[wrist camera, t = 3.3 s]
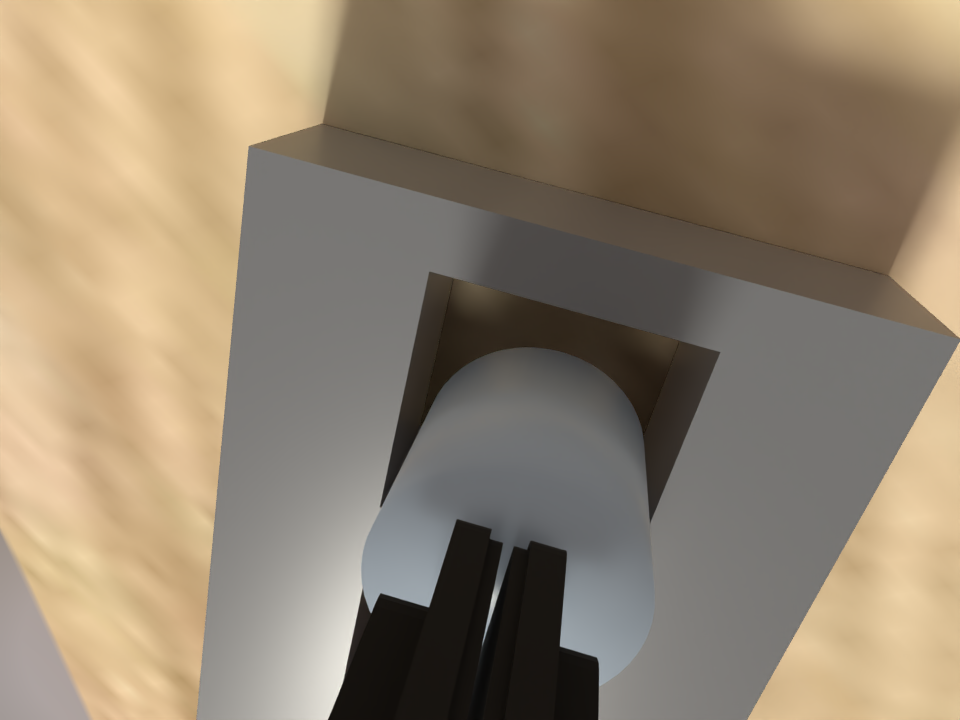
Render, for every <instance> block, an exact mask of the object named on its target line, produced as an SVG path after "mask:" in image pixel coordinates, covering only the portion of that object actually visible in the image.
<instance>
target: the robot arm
mask: <svg viewBox="0 0 960 720" xmlns="http://www.w3.org/2000/svg"><path fill="white" fill-rule="evenodd" d="M491 531H492V529H490V528H487V527H483V526H480V525H476V524H473V523H469V522H466V521H463V520H459V519H457V520H456V523H455V526H454V529H453V532H452V535H451V539H450V542H449V545H448V548H447V551H446V555H445V558H444V561H443V564H442V567H441V571H440V574H439V577H438V580H437V583H436V587H435V590H434V593H433V596H432V599H431V603H430V606H429V607H426V606H422V605H419V604H416V603H412V602H409V601H406V600H402V599H399V598H395V597H392V596H389V595H385V594H382V593H380V595H379V597H378V599H377V601H376V603H375V605H374V608H373V610H372V613H371V615H370V618H369V620H368V623H367V625H366V627H365V630H364V632H363V635H362V637H361V640H360V642H359V645H358V647H357V650H356V652H355V654H354V657H353V659H352V662H351V664H350V667H349V669H348V672H347V674H346V676H345V679H344V681H343V684H342V686H341V689H340V691H339V694H338V696H337V699H336V701H335V703H334V706H333V708H332V711H331V713H330V716H329V718H328V720H598V715H599V662H598V659H597V657H594V656H591V655H587V654H584V653H580V652H577V651H574V650H570V649H567V648H564V647H560V637H561V625H562V612H563V600H564V588H565V575H566V563H567V551H566V550H562V549H559V548H555V547H552V546H549V545H545V544H542V543H538V542H535V541H530V543H529V545H528V548H527V550H526V549H523V548H519V547H516V546H514V548H513V551H512V554H511V557H510V560H509V563H508V566H507V569H506V572H505V576H504V579H503V582H502V585H501V588H500V591H499V595H498V598H497V601H496V604H495V607H494V610H493V614H492V617H491V620H490V623H489V626H488V629H487V632H486V636H485V639H484V634H485V629H486V624H487V619H488V615H489V610H490V605H491V600H492V595H493V590H494V586H495V581H496V576H497V571H498V566H499V562H500V557H501V552H502V547H503V543H502V542H499V541H495V540H492V539H490V535H491ZM483 639H484V642H483ZM482 644H483V645H482Z"/></svg>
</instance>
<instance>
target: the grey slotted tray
mask: <svg viewBox="0 0 960 720" xmlns="http://www.w3.org/2000/svg"><path fill="white" fill-rule="evenodd" d="M453 278H455V279H459V280H462V281H466V282H470V283H473V284H477V285H480V286H484V287H488V288H491V289H495V290H498V291H502V292H506V293H509V294H513V295H516V296H520V297H524V298H527V299H531V300H534V301H538V302H542V303H545V304H549V305H552V306H556V307H560V308H563V309H567V310H570V311H574V312H578V313H581V314H585V315H588V316H592V317H596V318H599V319H603V320H606V321H610V322H614V323H617V324H621V325H624V326H628V327H632V328H635V329H639V330H643V331H646V332H650V333H653V334H657V335H661V336H664V337H668V338H671V339H675V340H679V341H680V342H679V345H678V347H677V350H676V352H675V355H674V358H673V360H672V363H671V366H670V368H669V371H668V373H667V376H666V379H665V381H664V384H663V387H662V389H661V392H660V394H659V397H658V400H657V402H656V405H655V408H654V410H653V413H652V415H651V418H650V421H649V423H648V426H647V428H646V431H645V434H644V436H643V439H644V448H645V462H646V476H647V490H648V505H649V519H650V533H651V547H652V561H653V575H654V589H655V609H654V615H653V621H652V625H651V628H650V631H649V634H648V636H647V639H646V640H645V642H644V644H643V646H642V648H641V649H640V651H639V652H638V654H637V655H636V656H635V658H634V659H633V660H632V661H631V663H630V664H629V665H628V666H626V667H625V668H624V669H623V670H622V671H621V672H620V673H619V674H618V675H616V676H615V677H613V678H612V679H611V680H609V681H608V682H606V683H605V684H603V685H601V686H599V715H598V720H747V719H748V717H749V715H750V713H751V712H752V710H753V708H754V706H755V705H756V703H757V701H758V699H759V697H760V696H761V694H762V692H763V690H764V689H765V687H766V685H767V683H768V681H769V680H770V678H771V676H772V674H773V673H774V671H775V669H776V667H777V665H778V664H779V662H780V660H781V658H782V657H783V655H784V653H785V651H786V649H787V648H788V646H789V644H790V642H791V641H792V639H793V637H794V635H795V633H796V632H797V630H798V628H799V626H800V625H801V623H802V621H803V619H804V617H805V616H806V614H807V612H808V610H809V609H810V607H811V605H812V603H813V601H814V600H815V598H816V596H817V594H818V593H819V591H820V589H821V587H822V585H823V584H824V582H825V580H826V578H827V577H828V575H829V573H830V571H831V569H832V568H833V566H834V564H835V562H836V561H837V559H838V557H839V555H840V553H841V552H842V550H843V548H844V546H845V545H846V543H847V541H848V539H849V537H850V536H851V534H852V532H853V530H854V529H855V527H856V525H857V523H858V521H859V520H860V518H861V516H862V514H863V513H864V511H865V509H866V507H867V505H868V504H869V502H870V500H871V498H872V497H873V495H874V493H875V491H876V489H877V488H878V486H879V484H880V482H881V481H882V479H883V477H884V475H885V473H886V472H887V470H888V468H889V466H890V465H891V463H892V461H893V459H894V457H895V456H896V454H897V452H898V450H899V449H900V447H901V445H902V443H903V441H904V440H905V438H906V436H907V434H908V432H909V431H910V429H911V427H912V425H913V424H914V422H915V420H916V418H917V416H918V415H919V413H920V411H921V409H922V408H923V406H924V404H925V402H926V400H927V399H928V397H929V395H930V393H931V392H932V390H933V388H934V386H935V384H936V383H937V381H938V379H939V377H940V376H941V374H942V372H943V370H944V368H945V367H946V365H947V363H948V361H949V360H950V358H951V356H952V354H953V352H954V351H955V349H956V347H957V345H958V344H959V342H960V338H959V337H957V336H956V335H955V334H954V333H953V332H952V331H951V330H950V329H948V328H947V327H946V326H945V325H944V324H943V323H942V322H940V321H939V320H938V319H937V318H936V317H935V316H934V315H933V314H931V313H930V312H929V311H928V310H927V309H926V308H925V307H923V306H922V305H921V304H920V303H919V302H918V301H917V300H916V299H914V298H913V297H912V296H911V295H910V294H909V293H908V292H906V291H905V290H904V289H903V288H902V287H901V286H900V285H898V284H897V283H896V282H895V281H894V280H893V279H892V278H891V277H889V276H887V275H883V274H879V273H876V272H872V271H868V270H865V269H861V268H857V267H853V266H850V265H846V264H842V263H838V262H835V261H831V260H827V259H824V258H820V257H816V256H812V255H809V254H805V253H801V252H797V251H794V250H790V249H786V248H783V247H779V246H775V245H771V244H768V243H764V242H760V241H756V240H753V239H749V238H745V237H742V236H738V235H734V234H730V233H727V232H723V231H719V230H715V229H712V228H708V227H704V226H700V225H697V224H693V223H689V222H686V221H682V220H678V219H674V218H671V217H667V216H663V215H659V214H656V213H652V212H648V211H645V210H641V209H637V208H633V207H630V206H626V205H622V204H618V203H615V202H611V201H607V200H604V199H600V198H596V197H592V196H589V195H585V194H581V193H577V192H574V191H570V190H566V189H563V188H559V187H555V186H551V185H548V184H544V183H540V182H536V181H533V180H529V179H525V178H522V177H518V176H514V175H510V174H507V173H503V172H499V171H495V170H492V169H488V168H484V167H481V166H477V165H473V164H469V163H466V162H462V161H458V160H454V159H451V158H447V157H443V156H440V155H436V154H432V153H428V152H425V151H421V150H417V149H413V148H410V147H406V146H402V145H399V144H395V143H391V142H387V141H384V140H380V139H376V138H372V137H369V136H365V135H361V134H358V133H354V132H350V131H346V130H343V129H339V128H335V127H331V126H328V125H324V124H320V125H317V126H313V127H310V128H307V129H303V130H300V131H297V132H294V133H290V134H287V135H284V136H280V137H277V138H274V139H271V140H267V141H264V142H261V143H257V144H254V145H251V146H249V150H248V161H247V172H246V183H245V193H244V204H243V215H242V226H241V237H240V248H239V259H238V270H237V281H236V292H235V303H234V314H233V325H232V336H231V347H230V358H229V369H228V380H227V391H226V402H225V413H224V424H223V435H222V446H221V457H220V467H219V478H218V489H217V500H216V511H215V522H214V533H213V544H212V555H211V566H210V577H209V588H208V599H207V610H206V621H205V632H204V643H203V654H202V665H201V676H200V687H199V698H198V709H197V720H328V718H329V716H330V713H331V711H332V708H333V706H334V703H335V701H336V699H337V696H338V694H339V691H340V689H341V686H342V684H343V681H344V679H345V676H346V674H347V672H348V669H349V667H350V664H351V662H352V659H353V657H354V654H355V652H356V650H357V647H358V645H359V642H360V640H361V637H362V635H363V632H364V630H365V627H366V625H367V623H368V620H369V618H370V615H371V612H370V610H369V608H368V605H367V602H366V599H365V596H364V591H363V586H362V579H361V562H362V554H363V549H364V546H365V542H366V539H367V536H368V534H369V532H370V530H371V528H372V526H373V524H374V522H375V520H376V518H377V516H378V514H379V512H380V510H381V508H382V505H383V503H384V501H385V499H386V497H387V495H388V493H389V491H390V489H391V487H392V485H393V483H394V481H395V479H396V477H397V475H398V473H399V471H400V469H401V467H402V465H403V463H404V461H405V459H406V457H407V455H408V453H409V451H410V449H411V447H412V445H413V443H414V441H415V439H416V437H417V435H418V433H419V431H420V429H421V426H420V424H421V420H422V415H423V411H424V406H425V402H426V397H427V393H428V389H429V384H430V380H431V375H432V371H433V366H434V362H435V358H436V353H437V349H438V344H439V340H440V335H441V331H442V327H443V322H444V318H445V313H446V309H447V304H448V300H449V296H450V291H451V287H452V282H453Z"/></svg>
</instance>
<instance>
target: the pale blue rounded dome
mask: <svg viewBox="0 0 960 720" xmlns="http://www.w3.org/2000/svg"><path fill="white" fill-rule="evenodd" d="M457 519H459V520H463V521H466V522H469V523H473V524H476V525H480V526H483V527H487V528H490V529H492V531H491V535H490V539H492V540H495V541H499V542H502V543H503V547H502V552H501V557H500V562H499V566H498V571H497V576H496V581H495V586H494V590H493V595H492V600H491V605H490V610H489V615H488V619H487V624H486V629H485V634H484V639H485V636H486V632H487V629H488V626H489V623H490V620H491V617H492V614H493V610H494V607H495V604H496V601H497V598H498V595H499V591H500V588H501V585H502V582H503V579H504V576H505V572H506V569H507V566H508V563H509V560H510V557H511V554H512V551H513V548H514V546H516V547H519V548H523V549H526V550H527V548H528V545H529V543H530V541H535V542H538V543H542V544H545V545H549V546H552V547H555V548H559V549H562V550H566V551H567V563H566V575H565V588H564V600H563V612H562V625H561V637H560V647H564V648H567V649H570V650H574V651H577V652H580V653H584V654H587V655H591V656H594V657H597V659H598V662H599V686H601V685H603V684H605V683H606V682H608V681H609V680H611V679H612V678H613V677H615V676H616V675H618V674H619V673H620V672H621V671H622V670H623V669H624V668H625V667H626V666H628V665H629V664H630V663H631V661H632V660H633V659H634V658H635V656H636V655H637V654H638V652H639V651H640V649H641V648H642V646H643V644H644V642H645V640H646V639H647V636H648V634H649V631H650V628H651V625H652V621H653V615H654V609H655V589H654V575H653V561H652V547H651V533H650V519H649V505H648V490H647V476H646V462H645V448H644V439H643V433H642V428H641V425H640V421H639V418H638V416H637V414H636V412H635V410H634V408H633V405H632V404H631V402H630V401H629V399H628V398H627V396H626V395H625V393H624V392H623V391H622V390H621V389H620V387H619V386H618V385H617V384H616V383H615V382H614V381H613V380H612V379H611V378H609V377H608V376H607V375H606V374H605V373H604V372H602V371H601V370H599V369H598V368H596V367H595V366H593V365H592V364H590V363H588V362H586V361H584V360H582V359H580V358H578V357H575V356H572V355H570V354H567V353H564V352H560V351H556V350H551V349H545V348H535V347H523V348H511V349H505V350H500V351H497V352H493V353H490V354H487V355H485V356H482V357H480V358H478V359H475V360H474V361H472V362H470V363H469V364H467V365H465V366H464V367H462V368H461V369H460V370H459V371H457V372H456V373H455V374H454V375H453V376H452V377H451V378H450V379H449V380H448V381H447V382H446V383H445V384H444V386H443V387H442V389H441V390H440V391H439V393H438V394H437V396H436V398H435V400H434V402H433V404H432V406H431V408H430V410H429V412H428V414H427V416H426V418H425V420H424V422H423V424H422V427H421V429H420V431H419V433H418V435H417V437H416V439H415V441H414V443H413V445H412V447H411V449H410V451H409V453H408V455H407V457H406V459H405V461H404V463H403V465H402V467H401V469H400V471H399V473H398V475H397V477H396V479H395V481H394V483H393V485H392V487H391V489H390V491H389V493H388V495H387V497H386V499H385V501H384V503H383V505H382V508H381V510H380V512H379V514H378V516H377V518H376V520H375V522H374V524H373V526H372V528H371V530H370V532H369V534H368V536H367V539H366V542H365V546H364V549H363V554H362V562H361V579H362V586H363V591H364V596H365V599H366V602H367V605H368V608H369V610H370V612H371V613H372V610H373V608H374V605H375V603H376V601H377V599H378V597H379V595H380V593H382V594H385V595H389V596H392V597H395V598H399V599H402V600H406V601H409V602H412V603H416V604H419V605H422V606H426V607H429V606H430V603H431V599H432V596H433V593H434V590H435V587H436V583H437V580H438V577H439V574H440V571H441V567H442V564H443V561H444V558H445V555H446V551H447V548H448V545H449V542H450V539H451V535H452V532H453V529H454V526H455V523H456V520H457ZM484 639H483V642H484ZM482 645H483V644H482Z"/></svg>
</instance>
